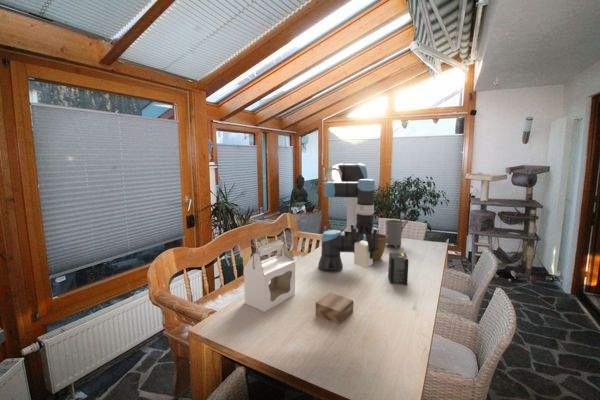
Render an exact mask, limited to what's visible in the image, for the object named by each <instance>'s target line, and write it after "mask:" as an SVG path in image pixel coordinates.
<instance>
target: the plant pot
mask: <svg viewBox="0 0 600 400" xmlns="http://www.w3.org/2000/svg"><path fill="white" fill-rule="evenodd" d="M371 233H372V240H373V232H371ZM366 241H367V238H366ZM386 242H387V236H386V234H383V233H378V250H377V251H375V252H374V258H373V261H380V260H381V259H382V257H383V255H384V252H385V248H386V246H387V245H386V244H387V243H386Z"/></svg>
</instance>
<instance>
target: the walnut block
mask: <svg viewBox="0 0 600 400" xmlns="http://www.w3.org/2000/svg"><path fill="white" fill-rule="evenodd" d="M353 313H354V300H353V299H351V298H348V297H344V296H342V295H338V294H336V293H332V292H329V293H327V294H326V295H325V296H323V297H322V298H320V299H319V300H318V301H316V302H315V316H317V317H320V318H322V319H325V320H327V321H330V322H332V323H335V324H338V325H341V324H342V323H343V322H345V321H346V320H347V318H349V317H350V316H351V315H352V314H353Z"/></svg>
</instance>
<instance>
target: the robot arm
mask: <svg viewBox="0 0 600 400" xmlns="http://www.w3.org/2000/svg"><path fill="white" fill-rule="evenodd" d="M325 180H326V181H325V182H324V192H323V193H324V197H326V198H347V201H346V202H347V203H346V204H347V205H346V206H347V210H346V214H347V215H346V228H345V229H343V230H344V232H341V230H339V229H329V230H326V231H324V232H323V233H322V234H321V241H320V242H321V255H320V259H319V261H318V269H319V270H320V271H323V272H328V273H337V272H341V271H342V270H343V267H344V264H343V261H342V258H341V253H354V249H355V243H356V242H359V241H361V240H363V241H366V238H367V242H368V246H369V251H368V262H367V267H370V266H372V265H373V262H372V259H373V258H374V252H375V251H377V250H378V234H380V233H379V232H380V228H376V227H375V226H374V218H375V217H374V213H375V191H376V181H375V180H374V179H373V178H372V179H371V178H368V171H367V167H366V165H365V164H364V163H336V164H334V165H332V166H330V167H328V168H327V169H326V172H325ZM372 233H373V240H372Z"/></svg>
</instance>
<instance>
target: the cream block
mask: <svg viewBox="0 0 600 400" xmlns="http://www.w3.org/2000/svg"><path fill="white" fill-rule="evenodd" d="M368 251H369V246H368V242H367V241H363V240H361V241H359V242H356V243H355V249H354V252H353V254H354V256H353V258H354V259H353V264H354V265H356V266H358V267H363V268H368V266H367V262H368ZM373 261H374V260H373V259H372V263H373Z"/></svg>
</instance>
